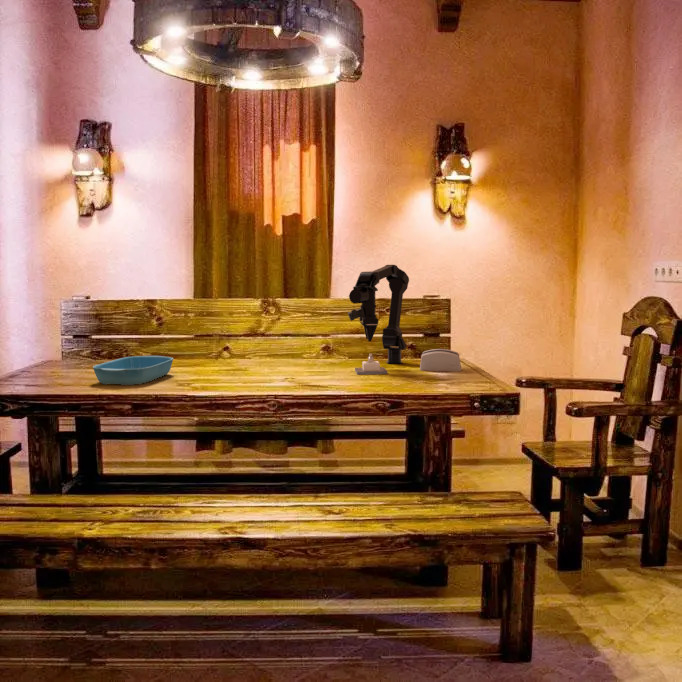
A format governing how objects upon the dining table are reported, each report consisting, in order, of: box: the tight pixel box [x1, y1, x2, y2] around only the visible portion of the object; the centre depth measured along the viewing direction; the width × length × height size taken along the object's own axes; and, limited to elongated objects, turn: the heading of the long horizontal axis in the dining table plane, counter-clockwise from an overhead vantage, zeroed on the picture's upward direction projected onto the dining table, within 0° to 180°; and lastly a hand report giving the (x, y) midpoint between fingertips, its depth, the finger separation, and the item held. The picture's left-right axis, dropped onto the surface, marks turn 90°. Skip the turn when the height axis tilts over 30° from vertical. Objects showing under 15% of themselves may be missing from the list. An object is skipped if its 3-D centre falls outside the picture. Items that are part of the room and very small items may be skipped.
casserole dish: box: [92, 355, 174, 386], centre depth 279 cm, size 37×22×7 cm, turn 169°
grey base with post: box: [354, 353, 388, 376], centre depth 292 cm, size 12×12×8 cm
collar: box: [361, 360, 381, 371], centre depth 292 cm, size 6×6×3 cm
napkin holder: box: [419, 348, 462, 372], centre depth 296 cm, size 17×5×10 cm, turn 78°
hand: (368, 340), depth 300 cm, fingers open, 9 cm apart
